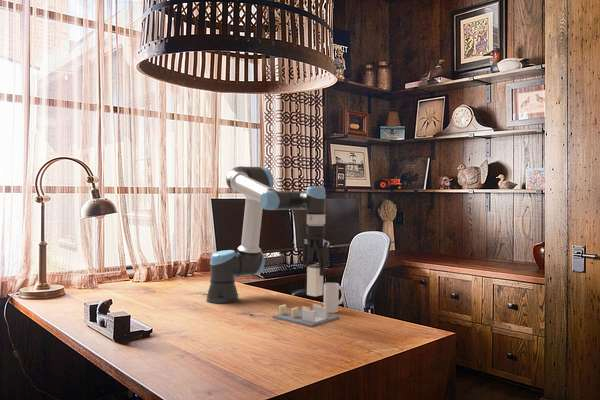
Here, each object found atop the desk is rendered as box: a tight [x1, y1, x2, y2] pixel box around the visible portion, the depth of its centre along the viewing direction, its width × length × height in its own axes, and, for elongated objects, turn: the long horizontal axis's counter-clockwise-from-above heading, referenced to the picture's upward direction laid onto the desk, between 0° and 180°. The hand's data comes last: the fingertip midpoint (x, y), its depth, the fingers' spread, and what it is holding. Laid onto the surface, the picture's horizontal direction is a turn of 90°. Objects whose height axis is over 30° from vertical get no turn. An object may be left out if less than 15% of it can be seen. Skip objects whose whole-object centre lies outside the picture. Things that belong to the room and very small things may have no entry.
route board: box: [271, 303, 340, 328], centre depth 204 cm, size 21×18×5 cm
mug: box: [323, 282, 345, 314], centre depth 217 cm, size 10×7×12 cm, turn 116°
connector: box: [306, 263, 324, 297], centre depth 198 cm, size 4×4×12 cm
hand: (315, 282), depth 198 cm, fingers closed on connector, 4 cm apart
